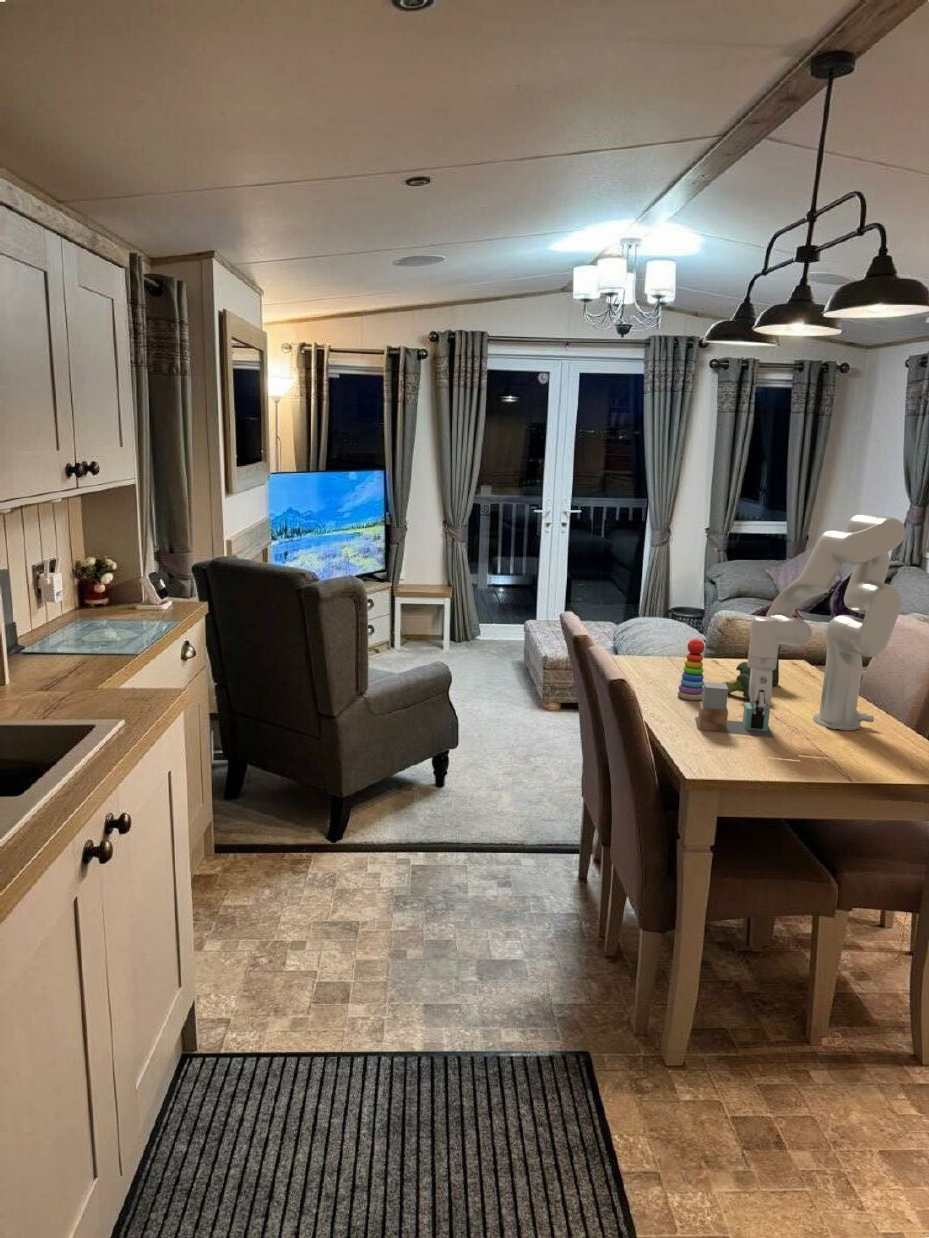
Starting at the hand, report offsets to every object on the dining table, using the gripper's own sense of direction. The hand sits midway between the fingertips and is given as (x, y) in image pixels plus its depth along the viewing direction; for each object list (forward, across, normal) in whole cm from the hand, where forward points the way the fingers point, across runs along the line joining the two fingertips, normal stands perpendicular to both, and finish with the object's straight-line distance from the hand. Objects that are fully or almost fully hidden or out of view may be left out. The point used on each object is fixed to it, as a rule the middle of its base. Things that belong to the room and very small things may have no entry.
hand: (755, 723), depth 240 cm
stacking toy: (+2, +26, +16) cm, 31 cm away
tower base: (+1, -4, +12) cm, 13 cm away
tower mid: (-5, -4, +12) cm, 14 cm away
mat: (+1, -2, +6) cm, 6 cm away
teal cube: (+1, 0, 0) cm, 1 cm away
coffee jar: (+2, +52, -9) cm, 53 cm away
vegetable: (+2, +32, -1) cm, 32 cm away
